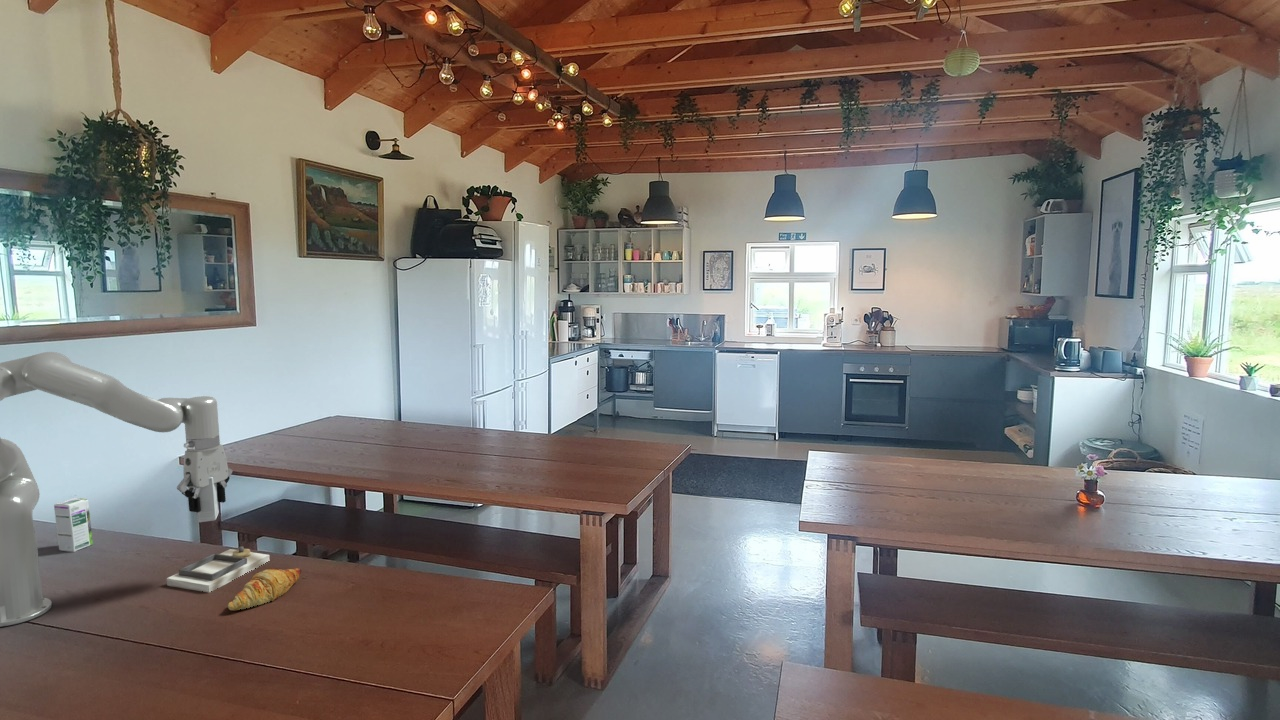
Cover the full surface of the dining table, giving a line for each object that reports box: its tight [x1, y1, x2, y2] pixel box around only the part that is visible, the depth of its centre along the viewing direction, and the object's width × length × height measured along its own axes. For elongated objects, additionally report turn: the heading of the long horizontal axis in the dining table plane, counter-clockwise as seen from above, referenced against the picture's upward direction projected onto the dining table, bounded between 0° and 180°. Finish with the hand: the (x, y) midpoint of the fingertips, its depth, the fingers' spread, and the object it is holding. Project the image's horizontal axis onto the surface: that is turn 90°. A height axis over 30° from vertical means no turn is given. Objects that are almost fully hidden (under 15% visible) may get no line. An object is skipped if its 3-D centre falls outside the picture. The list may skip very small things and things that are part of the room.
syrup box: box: [53, 497, 94, 553], centre depth 200 cm, size 6×6×14 cm
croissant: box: [227, 567, 303, 612], centre depth 173 cm, size 21×10×8 cm, turn 160°
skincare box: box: [196, 477, 220, 523], centre depth 181 cm, size 6×4×12 cm
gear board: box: [166, 545, 271, 593], centre depth 185 cm, size 20×14×5 cm
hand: (207, 506), depth 181 cm, fingers closed on skincare box, 7 cm apart
